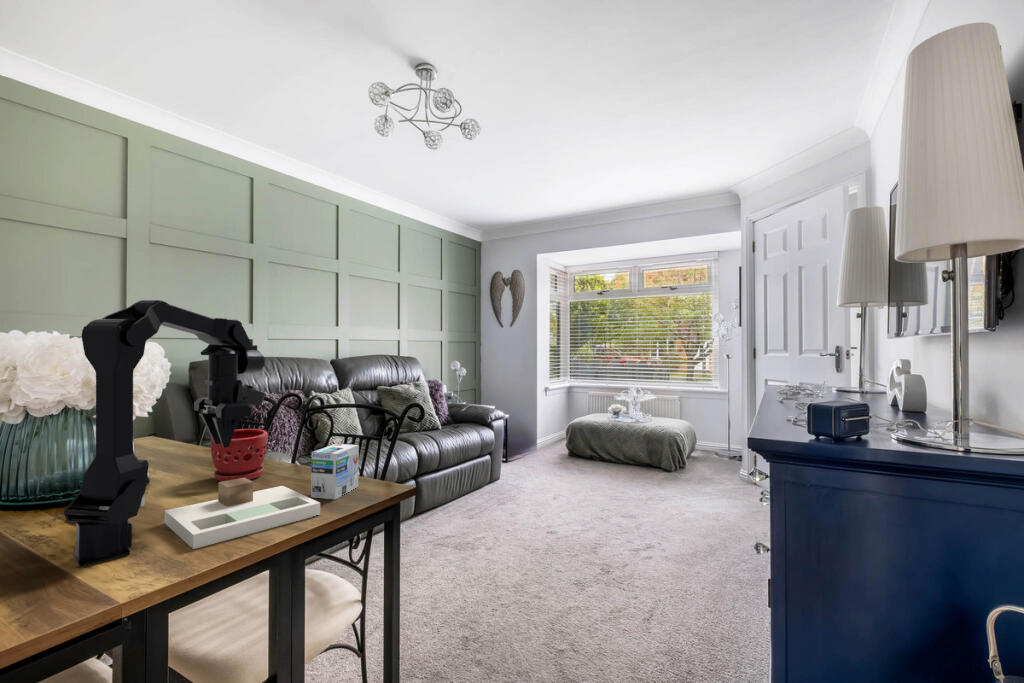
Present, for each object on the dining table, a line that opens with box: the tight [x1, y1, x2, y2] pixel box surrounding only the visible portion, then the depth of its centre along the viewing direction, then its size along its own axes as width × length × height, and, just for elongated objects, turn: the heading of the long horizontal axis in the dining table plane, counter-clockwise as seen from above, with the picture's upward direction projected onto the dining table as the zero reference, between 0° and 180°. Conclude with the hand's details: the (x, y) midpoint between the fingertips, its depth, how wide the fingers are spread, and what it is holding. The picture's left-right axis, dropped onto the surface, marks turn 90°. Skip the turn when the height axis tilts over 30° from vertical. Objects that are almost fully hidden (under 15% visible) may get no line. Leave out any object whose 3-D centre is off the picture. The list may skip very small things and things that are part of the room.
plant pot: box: [210, 428, 268, 482], centre depth 127 cm, size 13×13×12 cm
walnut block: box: [217, 478, 254, 507], centre depth 101 cm, size 5×5×4 cm
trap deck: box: [164, 485, 321, 550], centre depth 98 cm, size 23×18×2 cm
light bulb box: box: [310, 443, 360, 500], centre depth 116 cm, size 11×7×11 cm, turn 168°
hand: (222, 445), depth 107 cm, fingers open, 5 cm apart
